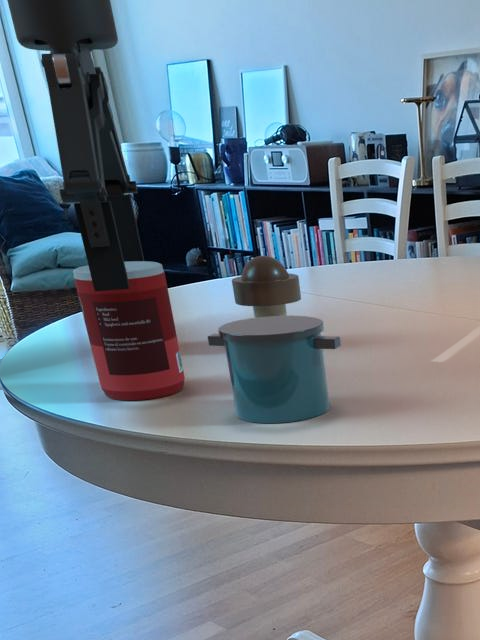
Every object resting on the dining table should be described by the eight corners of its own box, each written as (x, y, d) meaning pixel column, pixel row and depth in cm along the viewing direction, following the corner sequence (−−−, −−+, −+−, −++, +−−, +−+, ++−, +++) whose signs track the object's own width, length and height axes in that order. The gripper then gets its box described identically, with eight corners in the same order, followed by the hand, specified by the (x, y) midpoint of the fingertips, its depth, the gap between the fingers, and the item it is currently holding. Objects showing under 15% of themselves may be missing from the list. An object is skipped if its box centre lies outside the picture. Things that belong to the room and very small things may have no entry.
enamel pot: (324, 427, 71) (313, 336, 67) (198, 421, 74) (181, 333, 70) (363, 399, 78) (355, 316, 75) (246, 395, 81) (233, 314, 77)
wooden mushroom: (231, 353, 97) (215, 260, 92) (261, 340, 103) (248, 251, 98) (290, 355, 96) (277, 260, 91) (317, 341, 101) (306, 251, 97)
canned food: (152, 377, 88) (127, 259, 83) (204, 386, 84) (181, 263, 79) (84, 394, 83) (53, 269, 77) (136, 405, 79) (107, 274, 73)
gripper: (81, -45, 58) (153, 295, 68) (126, 8, 79) (175, 262, 90) (-42, -44, 57) (51, 303, 67) (38, 10, 78) (99, 267, 88)
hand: (122, 280), depth 78 cm, fingers open, 13 cm apart
